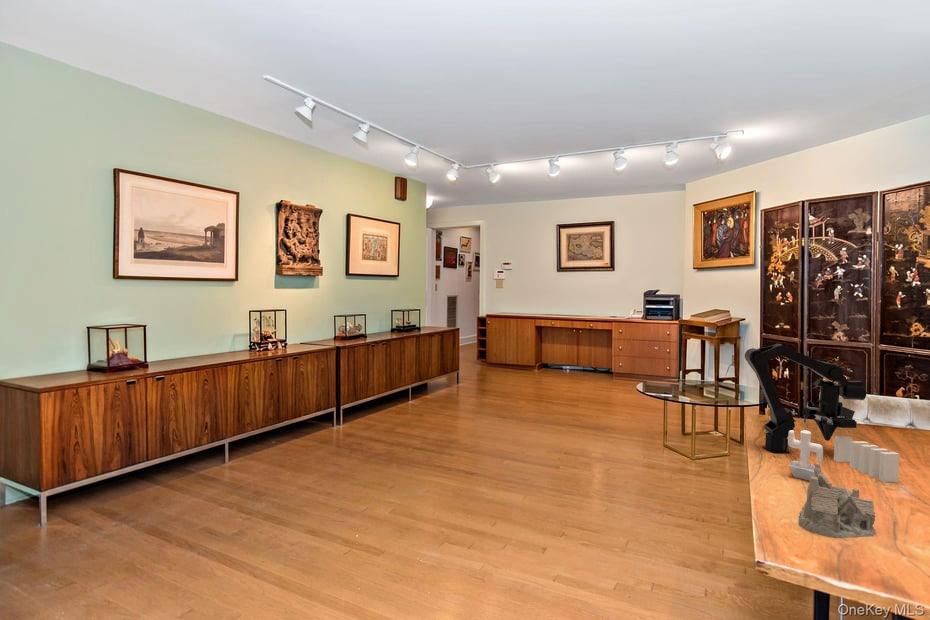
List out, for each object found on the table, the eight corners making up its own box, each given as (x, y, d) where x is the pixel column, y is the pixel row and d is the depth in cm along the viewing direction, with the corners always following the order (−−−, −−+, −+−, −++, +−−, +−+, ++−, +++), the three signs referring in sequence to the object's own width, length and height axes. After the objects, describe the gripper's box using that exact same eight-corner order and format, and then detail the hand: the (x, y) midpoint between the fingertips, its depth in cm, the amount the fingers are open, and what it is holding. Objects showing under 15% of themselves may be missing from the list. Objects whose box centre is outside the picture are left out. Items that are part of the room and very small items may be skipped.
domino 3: (863, 473, 165) (864, 446, 165) (858, 471, 167) (860, 444, 166) (877, 473, 165) (878, 446, 165) (873, 471, 167) (874, 444, 166)
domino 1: (837, 462, 175) (838, 436, 175) (833, 460, 177) (834, 435, 177) (850, 462, 176) (852, 436, 175) (847, 460, 177) (848, 435, 177)
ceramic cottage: (791, 526, 127) (799, 468, 126) (805, 508, 139) (812, 455, 138) (869, 553, 116) (878, 490, 115) (877, 531, 128) (885, 474, 127)
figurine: (818, 484, 155) (821, 436, 154) (783, 475, 162) (785, 430, 161) (824, 478, 160) (826, 432, 159) (789, 470, 167) (791, 426, 166)
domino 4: (872, 477, 161) (874, 450, 161) (868, 475, 163) (869, 448, 162) (887, 477, 162) (889, 450, 161) (883, 475, 163) (884, 448, 163)
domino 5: (883, 482, 158) (884, 454, 157) (878, 480, 159) (880, 452, 159) (898, 481, 158) (899, 453, 157) (893, 480, 159) (894, 452, 159)
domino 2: (853, 469, 169) (854, 442, 168) (849, 467, 170) (851, 441, 170) (867, 469, 169) (869, 442, 169) (863, 467, 171) (864, 441, 170)
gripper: (872, 404, 174) (870, 448, 174) (830, 392, 192) (828, 432, 193) (842, 404, 173) (839, 448, 174) (802, 392, 191) (800, 433, 192)
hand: (827, 440), depth 183 cm, fingers closed
